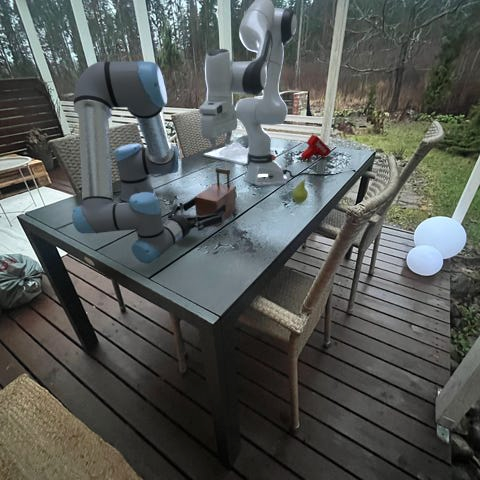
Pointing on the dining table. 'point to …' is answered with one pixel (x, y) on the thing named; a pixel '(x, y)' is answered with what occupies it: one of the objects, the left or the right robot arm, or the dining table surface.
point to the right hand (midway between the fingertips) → (221, 146)
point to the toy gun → (315, 148)
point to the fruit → (300, 192)
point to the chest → (217, 206)
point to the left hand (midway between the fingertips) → (209, 204)
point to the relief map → (231, 153)
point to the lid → (216, 189)
